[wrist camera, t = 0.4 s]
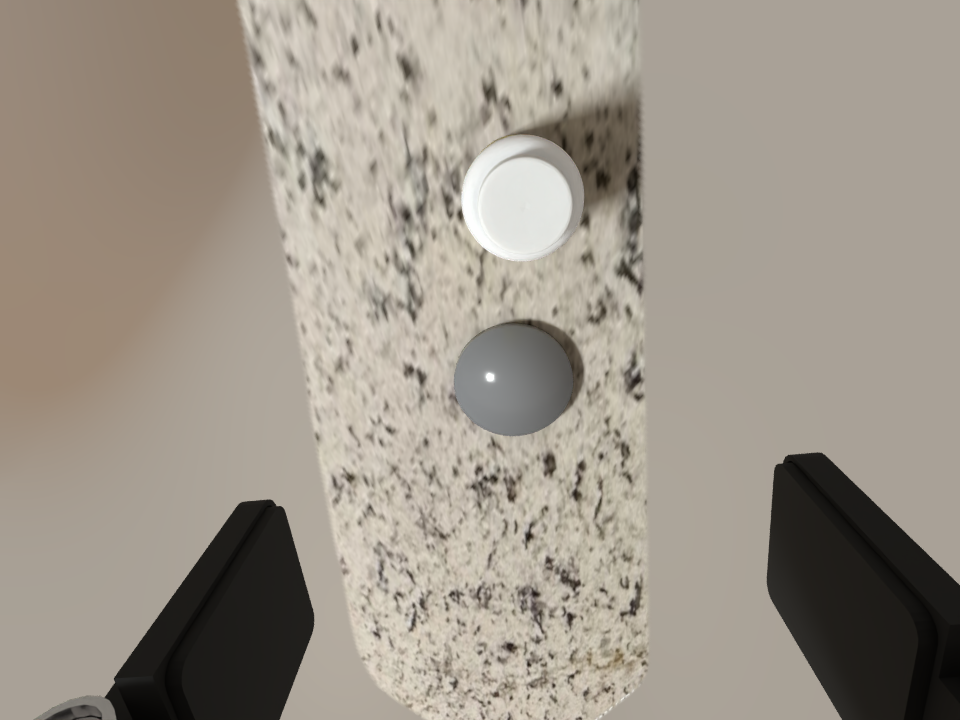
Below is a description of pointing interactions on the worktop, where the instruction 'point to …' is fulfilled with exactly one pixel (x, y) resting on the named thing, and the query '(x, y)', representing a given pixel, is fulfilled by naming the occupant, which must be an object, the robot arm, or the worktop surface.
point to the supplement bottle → (522, 197)
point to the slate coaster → (513, 379)
